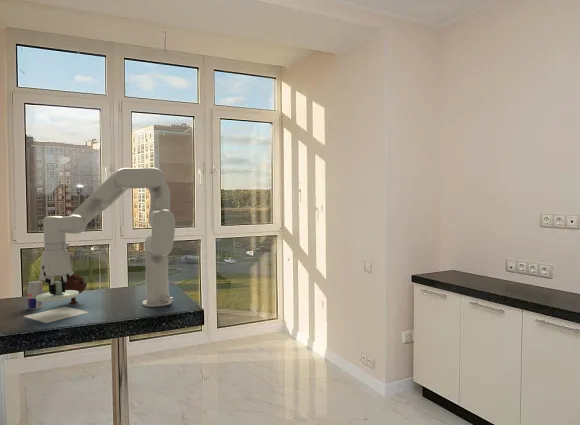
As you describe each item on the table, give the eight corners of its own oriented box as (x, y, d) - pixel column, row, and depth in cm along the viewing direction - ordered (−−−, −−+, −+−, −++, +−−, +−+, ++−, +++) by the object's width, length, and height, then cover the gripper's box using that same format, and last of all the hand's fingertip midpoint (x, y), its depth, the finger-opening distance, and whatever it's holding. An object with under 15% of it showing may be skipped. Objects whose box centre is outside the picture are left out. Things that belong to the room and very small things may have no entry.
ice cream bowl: (76, 308, 179) (75, 273, 178) (53, 307, 181) (52, 273, 180) (92, 302, 189) (91, 269, 189) (71, 301, 191) (70, 269, 191)
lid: (86, 294, 169) (86, 280, 169) (49, 303, 157) (48, 287, 156) (65, 291, 177) (65, 277, 177) (28, 299, 164) (27, 283, 164)
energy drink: (26, 309, 177) (26, 281, 177) (41, 307, 181) (40, 280, 181) (30, 312, 173) (29, 283, 173) (44, 309, 177) (43, 281, 177)
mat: (89, 314, 170) (89, 312, 169) (46, 325, 155) (46, 322, 155) (65, 308, 179) (65, 306, 178) (23, 318, 164) (22, 316, 164)
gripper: (70, 244, 175) (72, 287, 176) (28, 249, 161) (31, 296, 162) (80, 245, 171) (82, 289, 172) (38, 250, 157) (41, 298, 158)
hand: (57, 292), depth 167 cm, fingers closed on lid, 3 cm apart
